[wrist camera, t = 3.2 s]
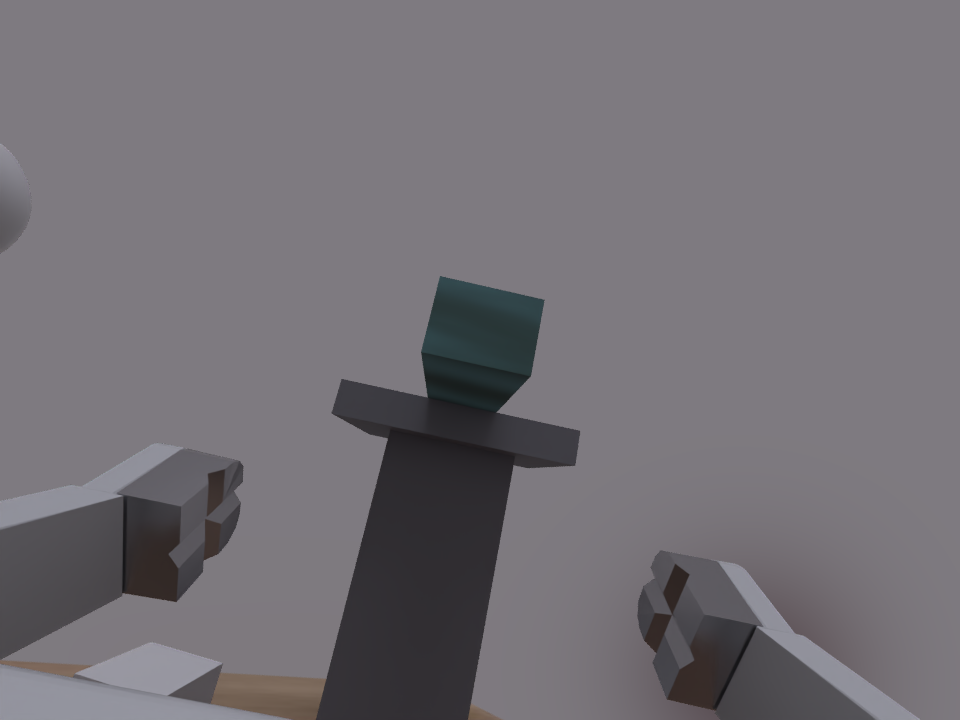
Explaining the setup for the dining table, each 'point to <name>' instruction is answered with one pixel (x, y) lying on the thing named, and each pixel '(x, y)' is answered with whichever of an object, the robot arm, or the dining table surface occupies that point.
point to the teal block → (479, 344)
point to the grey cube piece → (159, 672)
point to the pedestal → (427, 551)
